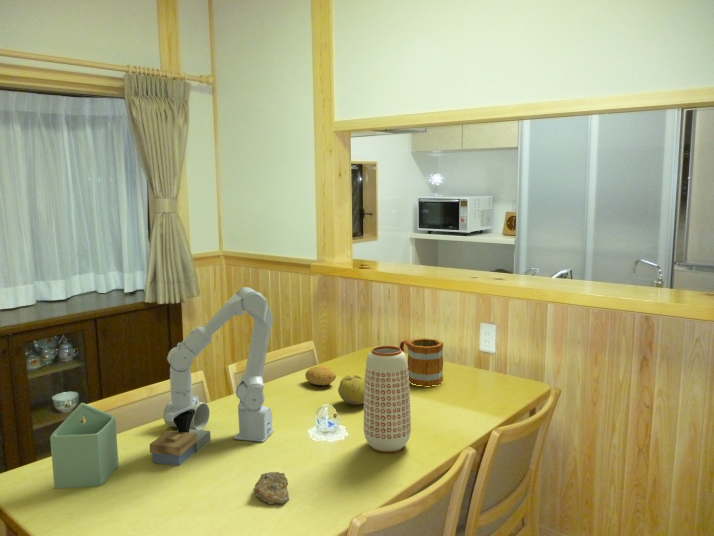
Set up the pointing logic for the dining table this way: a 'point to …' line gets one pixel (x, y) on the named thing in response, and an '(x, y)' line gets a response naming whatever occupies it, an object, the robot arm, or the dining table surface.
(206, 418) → the mug
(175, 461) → the blue open tray
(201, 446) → the stand
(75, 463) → the planter
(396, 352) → the vase
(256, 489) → the rock
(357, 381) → the fruit
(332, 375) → the potato
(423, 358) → the mug
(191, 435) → the lid
